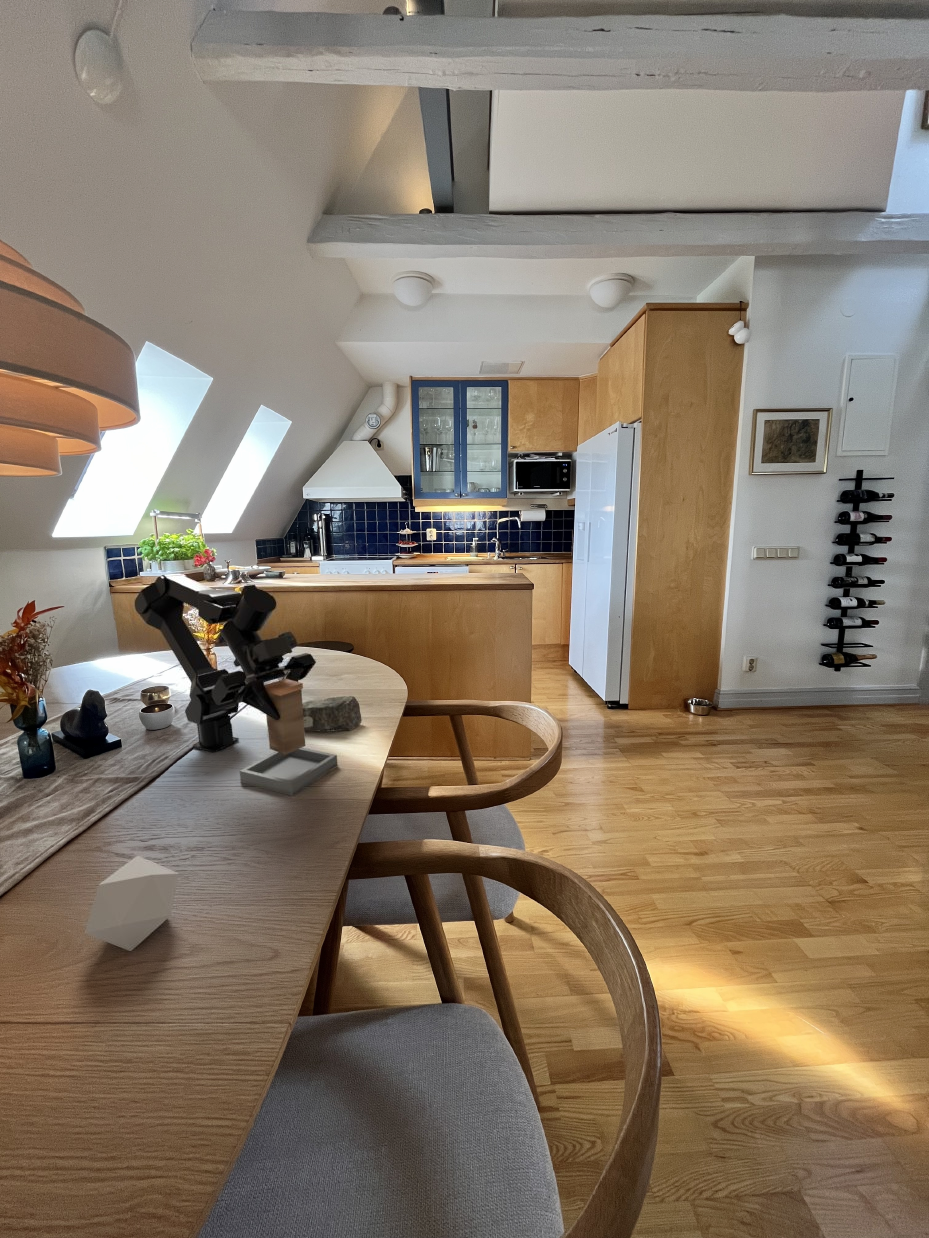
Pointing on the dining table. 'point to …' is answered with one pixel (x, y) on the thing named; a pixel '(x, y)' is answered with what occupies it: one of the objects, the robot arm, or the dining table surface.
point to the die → (132, 903)
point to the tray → (288, 770)
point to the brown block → (286, 716)
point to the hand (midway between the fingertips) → (289, 714)
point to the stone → (331, 714)
